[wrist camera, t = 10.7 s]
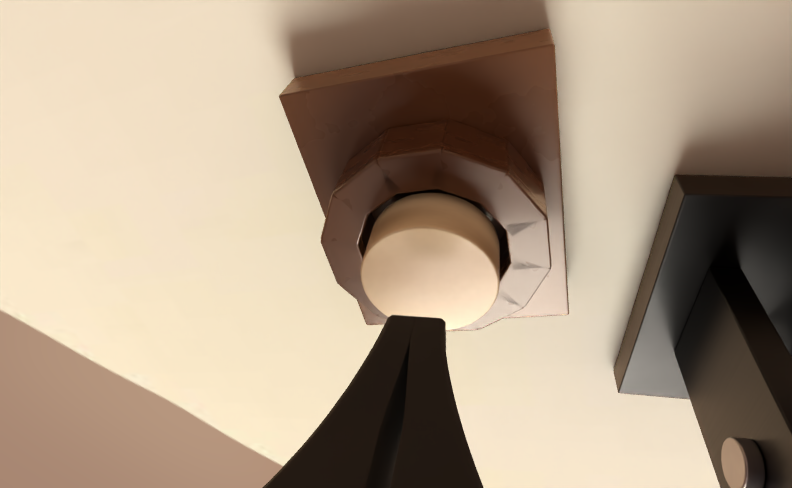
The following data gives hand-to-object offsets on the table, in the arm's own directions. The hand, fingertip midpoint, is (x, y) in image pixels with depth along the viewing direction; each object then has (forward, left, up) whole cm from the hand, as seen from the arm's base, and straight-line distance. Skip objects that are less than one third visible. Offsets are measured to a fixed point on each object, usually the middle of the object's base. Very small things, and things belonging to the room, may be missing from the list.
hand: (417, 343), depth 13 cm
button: (0, 0, -4) cm, 4 cm away
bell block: (0, 0, -7) cm, 7 cm away
